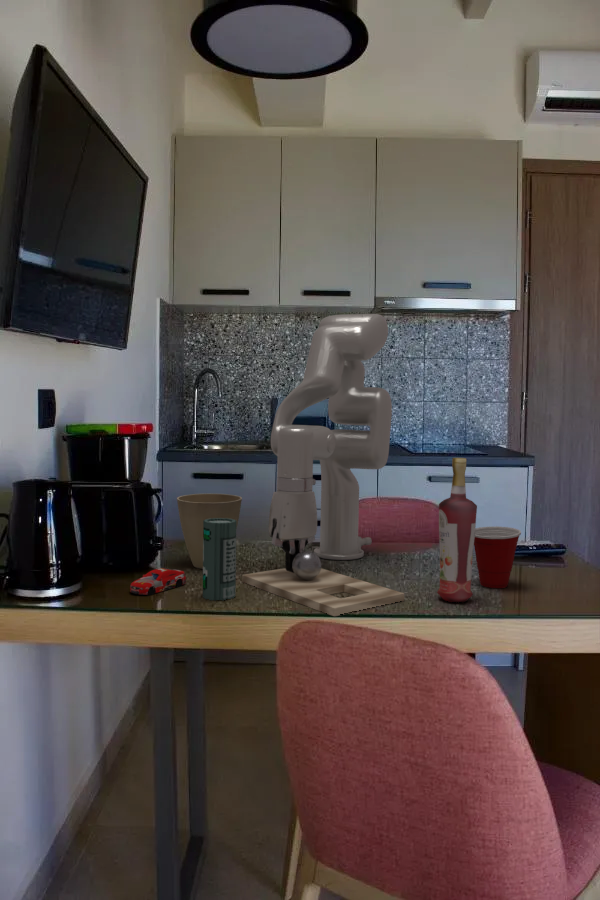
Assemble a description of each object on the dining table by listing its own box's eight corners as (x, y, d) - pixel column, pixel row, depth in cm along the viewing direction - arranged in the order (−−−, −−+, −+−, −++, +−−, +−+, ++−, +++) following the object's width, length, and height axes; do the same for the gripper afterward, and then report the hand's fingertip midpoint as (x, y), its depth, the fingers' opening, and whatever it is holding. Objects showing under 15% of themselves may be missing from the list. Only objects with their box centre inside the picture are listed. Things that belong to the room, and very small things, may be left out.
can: (216, 590, 146) (216, 517, 145) (240, 595, 143) (241, 520, 142) (197, 597, 141) (197, 521, 140) (222, 602, 138) (223, 524, 137)
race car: (142, 599, 140) (142, 579, 140) (123, 594, 143) (123, 574, 143) (190, 585, 151) (190, 566, 151) (172, 581, 154) (172, 562, 154)
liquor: (480, 604, 140) (485, 459, 138) (444, 605, 138) (449, 459, 137) (463, 594, 147) (468, 456, 145) (430, 595, 146) (434, 456, 144)
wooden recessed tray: (242, 581, 154) (242, 574, 154) (308, 570, 165) (308, 564, 165) (334, 616, 130) (334, 608, 130) (404, 601, 141) (404, 593, 141)
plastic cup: (456, 581, 158) (458, 526, 157) (497, 577, 162) (499, 524, 161) (487, 593, 148) (489, 535, 147) (530, 589, 152) (532, 532, 151)
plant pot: (172, 560, 173) (172, 494, 172) (233, 557, 178) (233, 492, 177) (181, 574, 159) (182, 502, 158) (247, 571, 164) (248, 501, 162)
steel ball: (306, 562, 155) (315, 542, 152) (321, 583, 152) (330, 562, 149) (283, 568, 152) (292, 547, 149) (298, 588, 148) (307, 568, 145)
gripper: (311, 482, 161) (309, 563, 162) (255, 485, 151) (254, 572, 153) (333, 485, 155) (331, 570, 156) (276, 489, 145) (274, 579, 147)
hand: (293, 571), depth 154 cm, fingers closed
